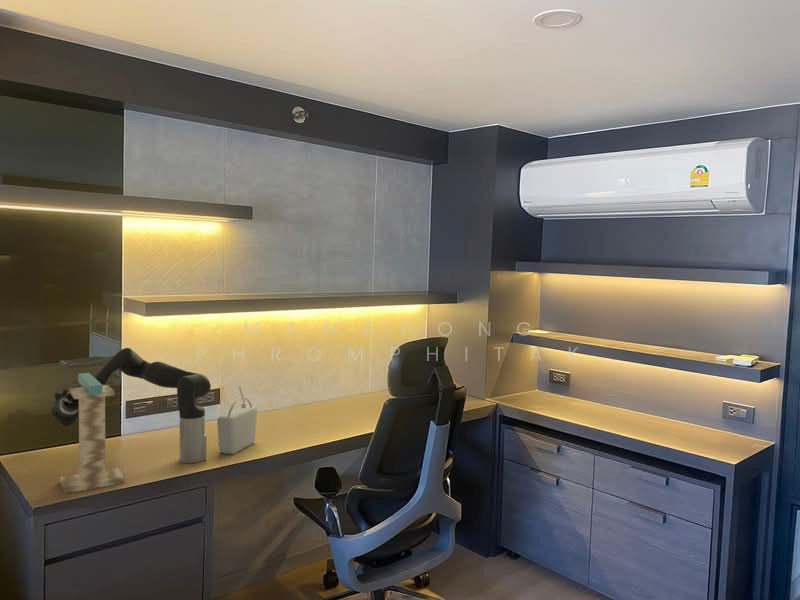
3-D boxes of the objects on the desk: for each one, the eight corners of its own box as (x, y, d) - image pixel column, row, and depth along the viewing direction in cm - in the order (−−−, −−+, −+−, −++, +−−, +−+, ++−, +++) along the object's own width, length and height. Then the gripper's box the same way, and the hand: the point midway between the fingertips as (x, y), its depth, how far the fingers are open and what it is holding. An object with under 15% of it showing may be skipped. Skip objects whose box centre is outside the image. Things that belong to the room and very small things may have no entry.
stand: (117, 473, 217) (116, 384, 215) (124, 483, 207) (124, 390, 205) (60, 482, 206) (59, 389, 204) (65, 493, 196) (64, 395, 195)
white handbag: (240, 439, 261) (241, 383, 260) (258, 441, 259) (258, 384, 258) (212, 454, 240) (213, 392, 239) (231, 456, 238) (231, 394, 237)
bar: (89, 381, 220) (88, 372, 219) (102, 393, 199) (102, 384, 198) (78, 381, 217) (78, 373, 217) (90, 395, 197) (90, 385, 196)
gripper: (50, 395, 231) (56, 382, 219) (90, 391, 240) (99, 379, 228) (51, 414, 228) (58, 402, 217) (92, 409, 237) (101, 398, 226)
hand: (79, 390), depth 222 cm, fingers open, 8 cm apart
